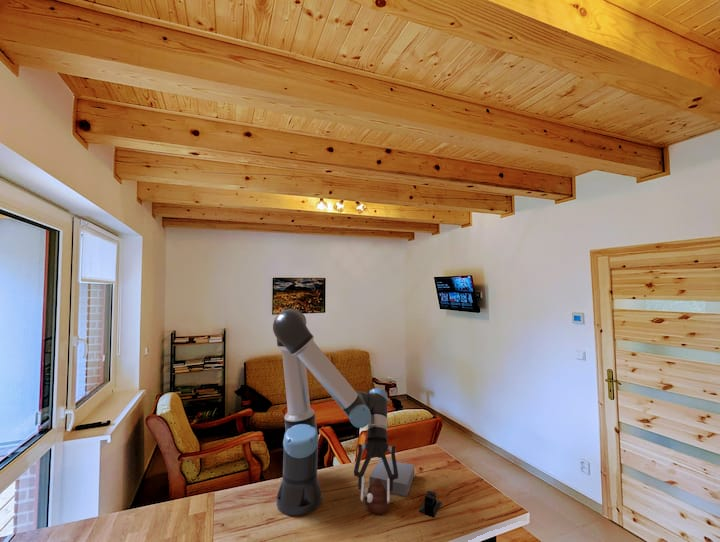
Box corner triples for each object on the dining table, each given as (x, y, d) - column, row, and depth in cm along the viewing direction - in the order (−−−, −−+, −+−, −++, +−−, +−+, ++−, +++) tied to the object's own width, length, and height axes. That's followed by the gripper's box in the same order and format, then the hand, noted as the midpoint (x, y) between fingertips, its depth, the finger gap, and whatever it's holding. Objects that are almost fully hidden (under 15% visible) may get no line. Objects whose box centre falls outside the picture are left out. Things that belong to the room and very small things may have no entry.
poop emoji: (394, 512, 108) (394, 483, 109) (369, 518, 106) (370, 487, 106) (382, 494, 118) (383, 467, 118) (359, 498, 115) (360, 471, 116)
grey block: (369, 487, 122) (369, 476, 122) (379, 468, 135) (380, 458, 135) (406, 496, 117) (407, 484, 117) (414, 475, 130) (414, 465, 130)
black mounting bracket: (435, 523, 105) (435, 508, 105) (413, 515, 108) (413, 501, 108) (445, 501, 116) (445, 487, 116) (425, 495, 119) (425, 481, 119)
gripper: (404, 435, 127) (406, 506, 110) (350, 432, 128) (344, 502, 112) (405, 427, 122) (407, 500, 105) (349, 424, 123) (342, 495, 107)
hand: (375, 501), depth 108 cm, fingers closed on poop emoji, 8 cm apart
